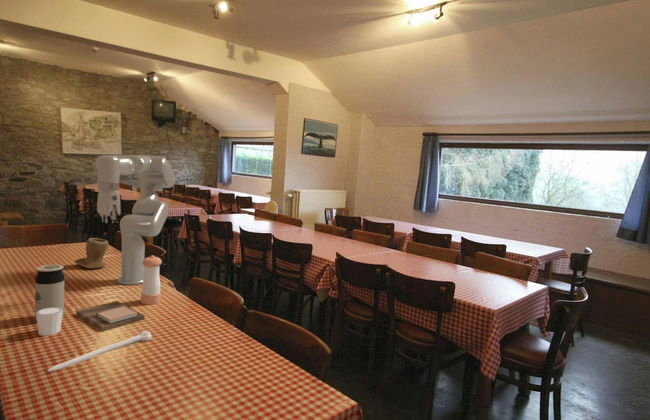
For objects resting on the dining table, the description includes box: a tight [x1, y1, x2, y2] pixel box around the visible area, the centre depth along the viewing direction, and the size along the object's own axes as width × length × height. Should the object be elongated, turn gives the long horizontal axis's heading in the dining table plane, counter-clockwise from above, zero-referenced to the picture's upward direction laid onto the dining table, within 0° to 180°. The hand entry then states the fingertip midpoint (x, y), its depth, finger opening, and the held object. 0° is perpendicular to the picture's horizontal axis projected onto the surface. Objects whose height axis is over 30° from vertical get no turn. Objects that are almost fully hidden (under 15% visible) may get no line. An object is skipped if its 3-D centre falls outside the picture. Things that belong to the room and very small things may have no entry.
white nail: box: [47, 330, 152, 373], centre depth 105 cm, size 28×4×3 cm, turn 148°
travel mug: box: [34, 264, 65, 321], centre depth 125 cm, size 8×8×18 cm
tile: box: [96, 306, 138, 323], centre depth 127 cm, size 10×9×1 cm
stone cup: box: [74, 237, 109, 269], centre depth 189 cm, size 15×12×15 cm
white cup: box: [36, 307, 63, 337], centre depth 115 cm, size 7×7×7 cm
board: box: [75, 300, 145, 332], centre depth 130 cm, size 20×14×2 cm
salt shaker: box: [140, 255, 163, 305], centre depth 146 cm, size 7×7×19 cm
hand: (107, 232), depth 146 cm, fingers closed
